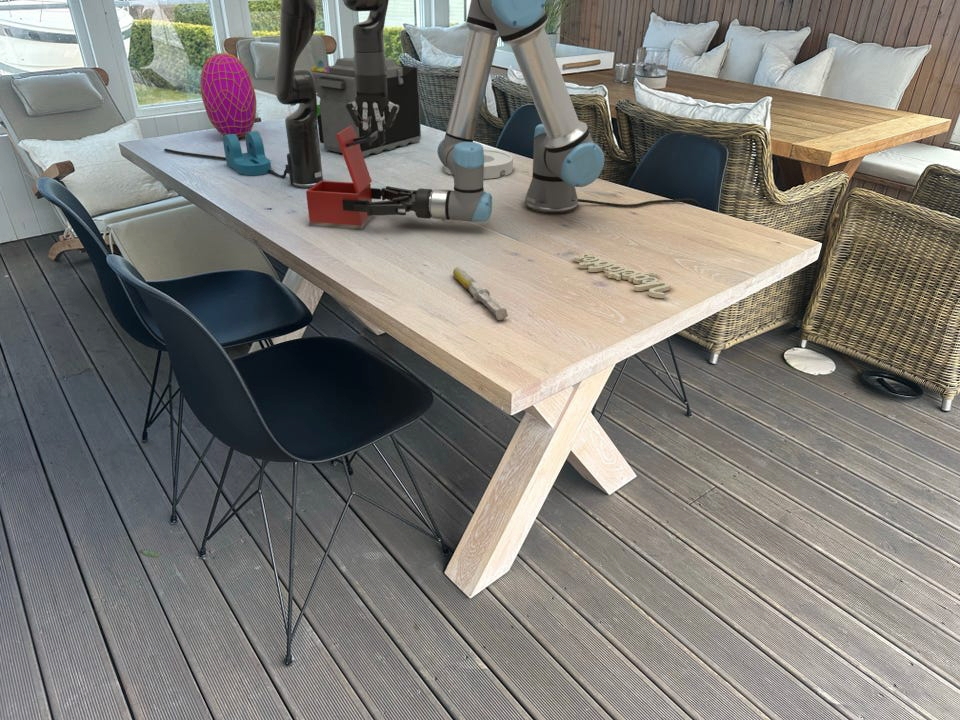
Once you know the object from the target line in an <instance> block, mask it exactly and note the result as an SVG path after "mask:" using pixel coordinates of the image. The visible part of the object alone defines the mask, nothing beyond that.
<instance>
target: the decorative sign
mask: <svg viewBox="0 0 960 720" xmlns="http://www.w3.org/2000/svg"><path fill="white" fill-rule="evenodd" d="M574 262H575V263H578V269H588V270H587V272H588V273H598V272H603V273H604V276H606V277H607V278H608V279H614V280H617V281H621V279H622V280H627V281H628V282H630V283H633V284H634V285H633V291H636V292H643V291H647V290H648V293H647V294H648V296H649V297H652V298H656V299H664V298H665V295H666V292H668V291H669V290H670V289H671V283H670V282H668V281H659V279H658V272H657V271H648V272H639V271H637V270H634V269H630V268H628V267H627V266H626V267H625V266H624V265H619V264H618V263H615V262H611V261H610V260H604V258H601V257H598V256H596V255H592V254H590V253H587V252H586V253H582V254H581V255H580V256H578V255H575V256H574Z"/></svg>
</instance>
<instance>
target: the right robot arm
mask: <svg viewBox="0 0 960 720" xmlns="http://www.w3.org/2000/svg"><path fill="white" fill-rule="evenodd" d="M546 2H547V1H546V0H470V4H469V7H468V11H467V12H468V13H467V17H466V21H465V25H466V26H467V28H468V31H467V36H466V42H465V46H464V50H463V53H462V59H461V62H460V63H461V64H460V67H459V71H458V72H459V73H458V77H457V82H456V86H455V91H454V94H453V99H452V103H451V108H450V112H449V116H448V117H449V118H448V121H447V126H446V131H445V134H444V138H443V139H442V140H441V141H440V142H439V143H438V146H437V157H438V159H439V160H440V162H441V164H442V165H443V167H444V166H445V167H447V168H448V169H449V170H450V171H451V172H452V173H453V174H454V175H453V190H452V189H439V188H438V189H437V188H435V189H434V188H433V190H432V189H431V188H421V187H420V188H418V189H406V188H400V187H394V186H389V185H387V186H385V187H382V188H375V187H371V197H372V200H377V201H372V202H369V200H366V201H362V200H347V199H343V200H342V201H343V210H346V211H360V212H367V215H368V216H372V215H373V216H406V215H407V213H409V212H414V215H415V216H416V218H418V219H431V218H432V219H433V220H441V222H445V221H446V220H447V221H460V222H468V223H469V222H470V223H487V222H488V221H489V220H490V218H491V216H492V211H493V197H492V194H491V193H490V192H486V191H485V188H484V179H483V178H484V150H483V149H484V146H483V145H482V144H481V143H478V142H476V141H475V142H474V139H475V134H476V130H477V126H478V122H479V119H480V115H481V111H482V107H483V102H484V99H485V94H486V91H487V87H488V86H487V85H488V82H489V78H490V74H491V71H492V67H493V61H494V59H495V58H494V57H495V53H496V50H497V46H498V45H497V44H498V42H499V39H500V40H501V42H502V43H504V44H506V45H509V46H510V47H511V50H512V52H513V55H514V57H515V60H516V62H517V64H518V65H517V66H518V67H519V69H520V72H521V75H522V78H523V80H524V82H525V84H526V87H527V89H528V91H529V94H530V96H531V99H532V102H533V104H534V107H535V109H536V110H537V114H538V116H539V119H540V121H541V123H540V124H538V125H536V127H535V129H534V135H533V152H532V153H533V156H532V176H531V177H532V178H531V181H530V183H529V186H528V189H527V191H526V194H525V197H524V206H525V208H527V209H528V210H530V211H533V212H535V213H540V214H548V215H559V214H561V215H562V214H567V213H568V214H569V213H571V212H574V211H576V210H578V205H579V203H586V204H595V205H600V206H601V205H602V206H610V207H619V208H634V207H635V208H636V207H641V206H645V205H651V204H662V203H682V202H691V203H694V204H695V205H696V206H701V203H700V202H699V201H698V200H697V199H694V198H687V197H686V198H675V199H656V200H648V201H643V202H639V203H638V202H637V203H631V204H630V203H629V204H628V203H627V204H626V203H613V202H606V201H597V200H591V199H584V198H583V199H582V198H578V194H577V189H576V188H583V187H587V186H589V185H591V184H592V183H594V182H595V181H596V180H597V179H598V177H600V175H601V173H602V170H603V169H604V166H605V154H604V151H603V149H602V148H601V147H600V146H599V145H598V144H597V143H595V142H594V140H593V138H592V135H591V132H590V130H589V127H588V125H587V123H586V122H584V121H580V119H579V118H578V114H577V112H576V110H575V107H574V104H573V102H572V99H571V95H570V93H569V91H568V88H567V85H566V82H565V80H564V77H563V74H562V72H561V69H560V66H559V64H558V61H557V58H556V55H555V53H554V50H553V47H552V44H551V42H550V39H549V36H548V35H547V31H546V26H547V24H548V21H549V17H548V14H547V12H546V8H545V5H546ZM379 200H380V201H379ZM371 208H372V210H371Z"/></svg>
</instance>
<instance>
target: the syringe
mask: <svg viewBox="0 0 960 720" xmlns="http://www.w3.org/2000/svg"><path fill="white" fill-rule="evenodd" d="M452 274H453V277H454V279H455V280H457V281H458V282H459V283H460V285H462V287H464V289H466V290H467V291H468V293H470V295H471V296H472V298H473V300H474V302H477V303H478V302H480V303H482V304H483V305H484V306H485V307H486V308H487V309H488V310H489V311H490V312H491V313H492V314H493V315H494V316H495V317H496V320H497V321H503V320H504V319H506V318H507V317H509V314H508V310H507V308H506V307H502V306H501V305H500V303H498V302H497V301H496V300H494V299H493V298H492V297H491V296H490V295H491V293H490V290H488V289H486V288H483V287H482V286H481V285H480V284H479V283H478V282H477V281H476V280H474V278H473V277H471V275H469V274H468V273H467V272H466V270H465V269H464V268H463V267H462V266H456V267H454V268H453V271H452Z"/></svg>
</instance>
